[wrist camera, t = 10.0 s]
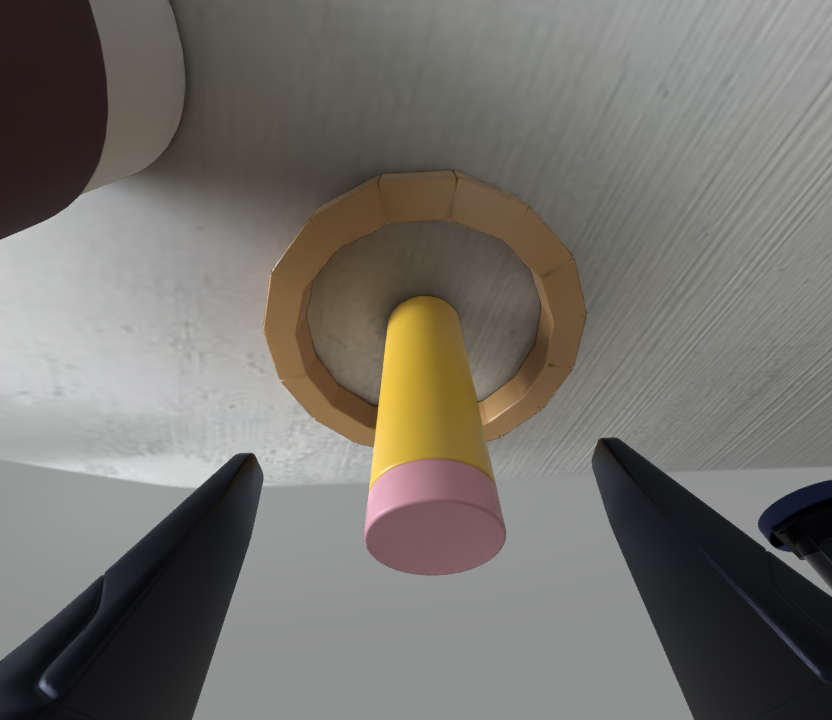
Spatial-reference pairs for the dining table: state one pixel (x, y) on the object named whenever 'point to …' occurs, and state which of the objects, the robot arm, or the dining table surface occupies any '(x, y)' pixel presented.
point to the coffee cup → (82, 99)
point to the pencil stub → (430, 451)
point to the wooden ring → (414, 203)
